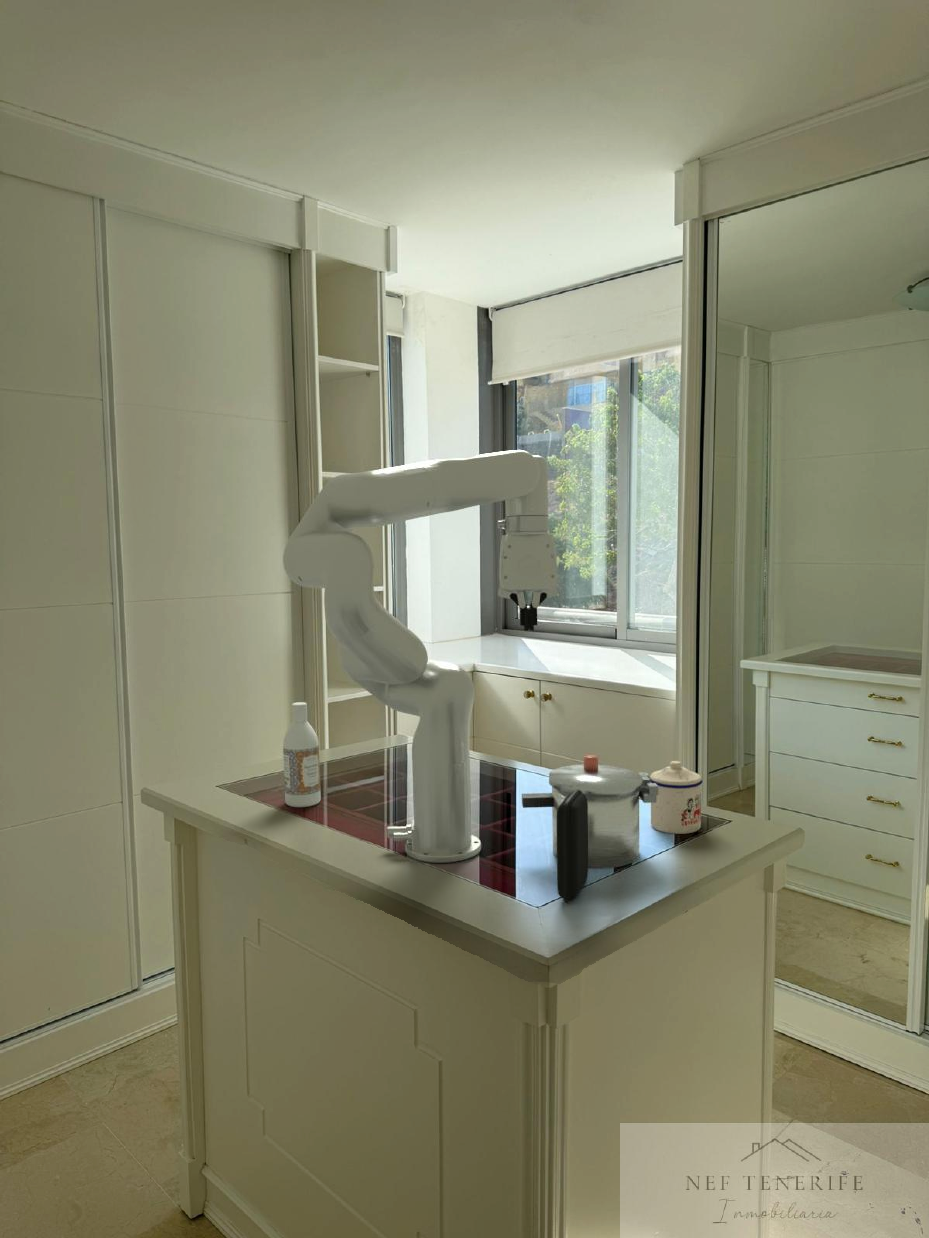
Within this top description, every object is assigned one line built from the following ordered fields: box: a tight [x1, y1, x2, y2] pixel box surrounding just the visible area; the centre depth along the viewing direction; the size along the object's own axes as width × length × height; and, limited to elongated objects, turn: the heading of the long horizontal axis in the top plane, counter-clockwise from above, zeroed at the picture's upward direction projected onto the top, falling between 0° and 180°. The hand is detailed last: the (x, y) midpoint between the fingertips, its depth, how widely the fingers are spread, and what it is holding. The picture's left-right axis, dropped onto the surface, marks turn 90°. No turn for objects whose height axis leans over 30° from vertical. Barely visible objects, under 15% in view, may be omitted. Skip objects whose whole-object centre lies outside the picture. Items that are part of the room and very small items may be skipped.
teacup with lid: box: [649, 760, 703, 835], centre depth 158 cm, size 12×9×12 cm
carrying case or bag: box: [556, 789, 589, 904], centre depth 129 cm, size 11×3×15 cm, turn 160°
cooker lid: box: [548, 754, 651, 797], centre depth 145 cm, size 16×15×3 cm
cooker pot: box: [521, 772, 658, 869], centre depth 145 cm, size 21×14×12 cm, turn 91°
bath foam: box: [282, 701, 322, 808], centre depth 176 cm, size 7×7×20 cm
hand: (528, 629), depth 159 cm, fingers closed
